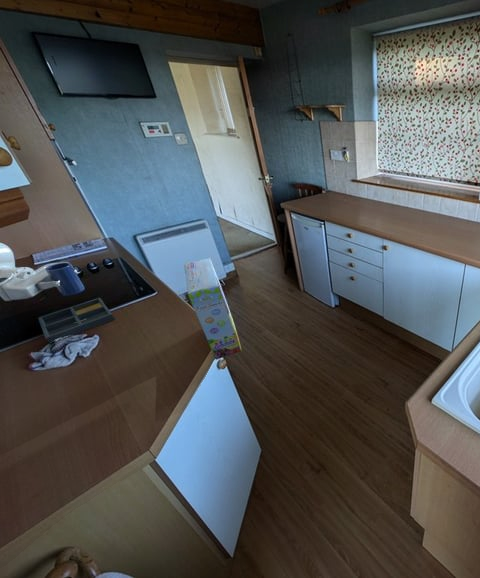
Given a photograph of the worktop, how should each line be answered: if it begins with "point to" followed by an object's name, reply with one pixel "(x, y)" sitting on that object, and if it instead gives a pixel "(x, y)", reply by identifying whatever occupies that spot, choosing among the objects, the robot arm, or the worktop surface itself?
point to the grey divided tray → (75, 319)
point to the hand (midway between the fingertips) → (67, 277)
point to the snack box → (211, 308)
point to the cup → (65, 278)
